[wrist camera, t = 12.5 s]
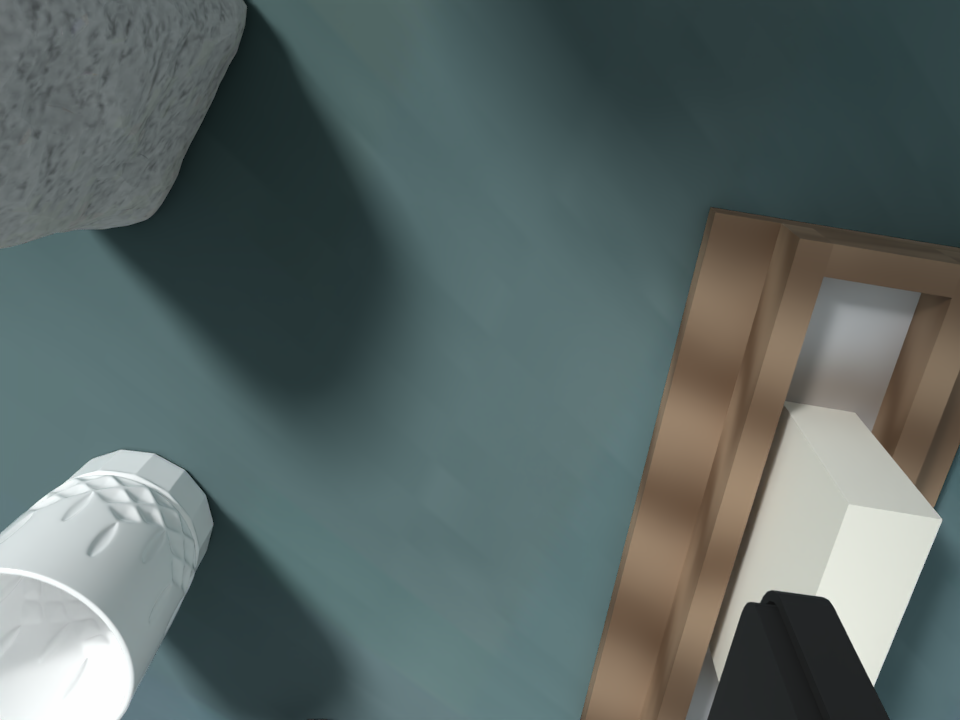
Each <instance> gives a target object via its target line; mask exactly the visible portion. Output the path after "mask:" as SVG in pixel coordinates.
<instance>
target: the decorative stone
mask: <svg viewBox="0 0 960 720" xmlns="http://www.w3.org/2000/svg"><path fill="white" fill-rule="evenodd" d="M246 12H247V6H246V4H245V2H244V1H243V0H0V249H1V248H7V247H12V246H16V245H19V244H23V243H27V242H29V241H32V240H35V239H38V238H42V237H45V236H48V235H51V234H54V233H57V232H69V231H72V230H87V229H108V228H113V227H122V226H128V225H131V224H135V223H138V222H141V221H144V220H147V219H148V218H150V217H151V216H152V215H153V214H154V213H155V212H156V211H157V210H158V208H159V207H160V206H161V204H162V203H163V201H164V199H165V198H166V196H167V194H168V193H169V191H170V189H171V188H172V186H173V184H174V182H175V180H176V178H177V176H178V173H179V170H180V167H181V164H182V161H183V158H184V156H185V154H186V152H187V150H188V148H189V146H190V144H191V142H192V140H193V138H194V136H195V134H196V133H197V131H198V129H199V127H200V125H201V123H202V121H203V119H204V117H205V115H206V113H207V111H208V109H209V107H210V105H211V103H212V101H213V99H214V97H215V94H216V92H217V89H218V87H219V84H220V82H221V80H222V79H223V77H224V75H225V73H226V71H227V68H228V66H229V65H230V63H231V61H232V59H233V58H234V56H235V54H236V53H237V50H238V47H239V43H240V40H241V37H242V34H243V31H244V27H245V21H246Z"/></svg>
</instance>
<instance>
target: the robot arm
mask: <svg viewBox="0 0 960 720" xmlns="http://www.w3.org/2000/svg"><path fill="white" fill-rule="evenodd" d="M707 720H890V719H889V717H888V715H887V713H886V711H885V709H884V707H883V705H882V703H881V701H880V699H879V697H878V695H877V693H876V691H875V689H874V687H873V685H872V683H871V681H870V679H869V677H868V675H867V673H866V671H865V669H864V667H863V665H862V663H861V661H860V659H859V657H858V655H857V653H856V651H855V649H854V647H853V645H852V643H851V641H850V639H849V637H848V635H847V632H846V630H845V628H844V626H843V624H842V622H841V620H840V618H839V616H838V614H837V612H836V610H835V608H834V607H833V605H832V604H831V602H830V601H829V600H828V599H826V598H824V597H819V596H812V595H804V594H797V593H790V592H782V591H775V590H771V591H767V592H766V594H765V595H764V596H763V597H762V600H761V602H760V603H756V602H748V603H747V604H746V605H745V606H744V608H743V610H742V613H741V616H740V619H739V622H738V625H737V628H736V631H735V634H734V638H733V641H732V644H731V647H730V650H729V653H728V656H727V659H726V662H725V666H724V669H723V672H722V675H721V678H720V681H719V684H718V687H717V690H716V694H715V697H714V700H713V703H712V706H711V709H710V712H709V715H708V719H707Z"/></svg>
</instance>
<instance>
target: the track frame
mask: <svg viewBox="0 0 960 720" xmlns="http://www.w3.org/2000/svg"><path fill="white" fill-rule="evenodd" d="M785 401H788V402H794V403H800V404H806V405H812V406H818V407H824V408H830V409H836V410H842V411H848V412H855V413H856V414H857V416H858V417H859V418H860V419H861V421H862V422H863V423H864V424H865V425H866V427H867V428H868V429H869V430H870V432H871V433H872V434H873V435H874V436H875V438H876V439H877V440H878V441H879V443H880V444H881V445H882V446H883V447H884V449H885V450H886V451H887V452H888V454H889V455H890V456H891V457H892V458H893V460H894V461H895V462H896V463H897V465H898V466H899V467H900V468H901V469H902V471H903V472H904V473H905V474H906V475H907V477H908V478H909V479H910V480H911V482H912V483H913V484H914V485H915V486H916V488H917V489H918V490H919V491H920V493H921V494H922V495H923V496H924V497H925V499H926V500H927V501H928V502H929V504H930V505H931V506H932V507H933V508H934V506H935V504H936V501H937V499H938V496H939V494H940V491H941V489H942V486H943V484H944V481H945V479H946V476H947V474H948V471H949V469H950V466H951V464H952V462H953V459H954V457H955V454H956V452H957V449H958V447H959V444H960V248H957V247H950V246H944V245H938V244H932V243H926V242H920V241H914V240H908V239H902V238H896V237H889V236H883V235H877V234H871V233H865V232H859V231H853V230H847V229H841V228H835V227H828V226H822V225H816V224H810V223H804V222H798V221H792V220H786V219H780V218H774V217H768V216H761V215H755V214H749V213H743V212H737V211H731V210H725V209H719V208H713V207H710V211H709V215H708V219H707V223H706V227H705V231H704V235H703V239H702V242H701V246H700V250H699V254H698V258H697V262H696V266H695V270H694V274H693V278H692V282H691V286H690V290H689V294H688V298H687V302H686V306H685V309H684V313H683V317H682V321H681V325H680V329H679V333H678V337H677V341H676V345H675V349H674V353H673V357H672V361H671V365H670V369H669V373H668V376H667V380H666V384H665V388H664V392H663V396H662V400H661V404H660V408H659V412H658V416H657V420H656V424H655V428H654V432H653V436H652V439H651V443H650V447H649V451H648V455H647V459H646V463H645V467H644V471H643V475H642V479H641V483H640V487H639V491H638V495H637V499H636V503H635V506H634V510H633V514H632V518H631V522H630V526H629V530H628V534H627V538H626V542H625V546H624V550H623V554H622V558H621V562H620V566H619V570H618V573H617V577H616V581H615V585H614V589H613V593H612V597H611V601H610V605H609V609H608V613H607V617H606V621H605V625H604V629H603V633H602V637H601V640H600V644H599V648H598V652H597V656H596V660H595V664H594V668H593V672H592V676H591V680H590V684H589V688H588V692H587V696H586V700H585V704H584V707H583V711H582V715H581V719H580V720H707V719H708V715H709V712H710V709H711V706H712V703H713V700H714V697H715V694H716V690H717V687H718V684H719V681H718V677H717V674H716V670H715V666H714V663H713V659H712V656H711V652H710V649H709V642H710V639H711V636H712V633H713V629H714V626H715V623H716V620H717V617H718V613H719V610H720V607H721V604H722V601H723V597H724V594H725V591H726V588H727V585H728V581H729V578H730V575H731V572H732V569H733V565H734V562H735V559H736V556H737V553H738V549H739V546H740V543H741V540H742V537H743V533H744V530H745V527H746V524H747V521H748V517H749V514H750V511H751V508H752V505H753V501H754V498H755V495H756V492H757V489H758V485H759V482H760V479H761V476H762V473H763V469H764V466H765V463H766V460H767V457H768V453H769V450H770V447H771V444H772V441H773V437H774V434H775V431H776V428H777V425H778V421H779V418H780V415H781V412H782V409H783V405H784V402H785Z"/></svg>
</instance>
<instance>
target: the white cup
mask: <svg viewBox="0 0 960 720" xmlns="http://www.w3.org/2000/svg"><path fill="white" fill-rule="evenodd" d="M212 528H213V519H212V516H211V512H210V508H209V505H208V501H207V497H206V495H205V493H204V492H203V491H202V490H201V488H200V487H199V486H198V485H197V484H196V482H195V481H194V480H193V479H192V478H191V476H190V475H189V474H188V473H187V472H186V471H185V470H184V469H183V468H181V467H179V466H177V465H175V464H173V463H171V462H170V461H168V460H166V459H164V458H162V457H160V456H159V455H157V454H154V453H147V452H138V451H130V450H118V451H115V452H112V453H109V454H106V455H103V456H100V457H96V458H93V459H91V460H90V461H89V462H87V463H86V464H85V465H84V466H83V467H82V468H81V469H80V470H78V471H77V472H76V473H75V474H74V475H73V476H72V477H71V478H69V479H68V480H67V481H66V482H65V483H64V484H62V485H61V486H59V487H58V488H56V489H54V490H53V491H51V492H50V493H48V494H47V495H46V496H44V497H43V498H42V499H41V500H39V501H38V502H37V503H36V504H34V505H33V506H32V507H31V508H30V509H29V510H27V511H26V512H24V513H23V514H22V515H21V516H19V517H18V518H17V519H16V520H15V521H14V522H12V523H11V524H10V525H9V526H8V527H7V528H6V529H4V530H3V531H2V532H1V533H0V720H120V719H121V718H122V716H123V715H124V714H125V712H126V710H127V709H128V707H129V705H130V703H131V701H132V699H133V697H134V695H135V693H136V691H137V689H138V687H139V685H140V683H141V681H142V680H143V678H144V676H145V674H146V672H147V670H148V668H149V666H150V664H151V662H152V661H153V659H154V657H155V655H156V653H157V651H158V649H159V647H160V645H161V643H162V642H163V640H164V638H165V636H166V634H167V632H168V630H169V628H170V626H171V624H172V622H173V621H174V619H175V617H176V614H177V612H178V610H179V608H180V606H181V603H182V601H183V599H184V598H185V596H186V594H187V591H188V589H189V587H190V585H191V583H192V580H193V578H194V575H195V572H196V570H197V568H198V566H199V564H200V562H201V561H202V559H203V557H204V555H205V553H206V551H207V548H208V544H209V540H210V536H211V532H212Z"/></svg>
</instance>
